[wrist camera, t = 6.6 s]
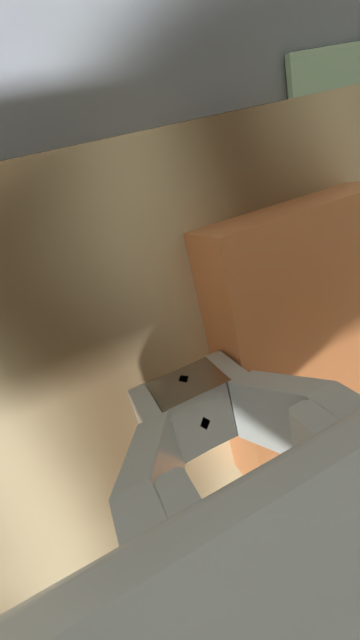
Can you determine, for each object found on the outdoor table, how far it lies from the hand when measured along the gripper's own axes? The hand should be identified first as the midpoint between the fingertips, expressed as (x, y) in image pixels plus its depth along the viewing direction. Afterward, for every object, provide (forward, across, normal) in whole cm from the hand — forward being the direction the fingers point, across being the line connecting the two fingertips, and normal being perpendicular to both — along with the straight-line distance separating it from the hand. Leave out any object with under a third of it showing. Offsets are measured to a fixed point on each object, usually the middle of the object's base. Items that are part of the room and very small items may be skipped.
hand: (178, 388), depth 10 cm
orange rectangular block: (+1, -4, 0) cm, 5 cm away
